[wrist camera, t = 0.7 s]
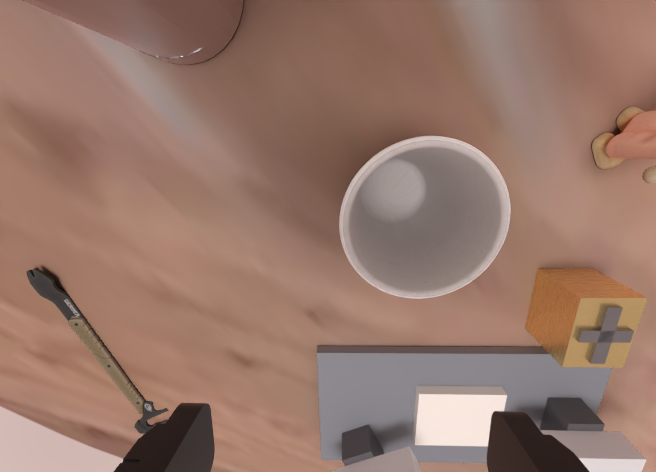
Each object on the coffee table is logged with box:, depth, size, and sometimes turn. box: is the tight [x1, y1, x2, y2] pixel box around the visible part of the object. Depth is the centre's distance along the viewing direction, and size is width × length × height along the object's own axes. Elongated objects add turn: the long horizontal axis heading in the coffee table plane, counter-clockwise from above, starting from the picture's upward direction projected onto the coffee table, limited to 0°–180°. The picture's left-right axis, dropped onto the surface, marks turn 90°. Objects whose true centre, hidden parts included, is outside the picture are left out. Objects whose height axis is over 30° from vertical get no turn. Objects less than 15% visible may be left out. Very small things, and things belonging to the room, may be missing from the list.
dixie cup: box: [339, 136, 511, 299], centre depth 20 cm, size 8×8×10 cm
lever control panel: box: [317, 346, 647, 472], centre depth 28 cm, size 27×14×6 cm, turn 91°
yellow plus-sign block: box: [525, 268, 648, 368], centre depth 24 cm, size 6×4×5 cm
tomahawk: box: [27, 268, 168, 433], centre depth 30 cm, size 21×7×1 cm, turn 20°
